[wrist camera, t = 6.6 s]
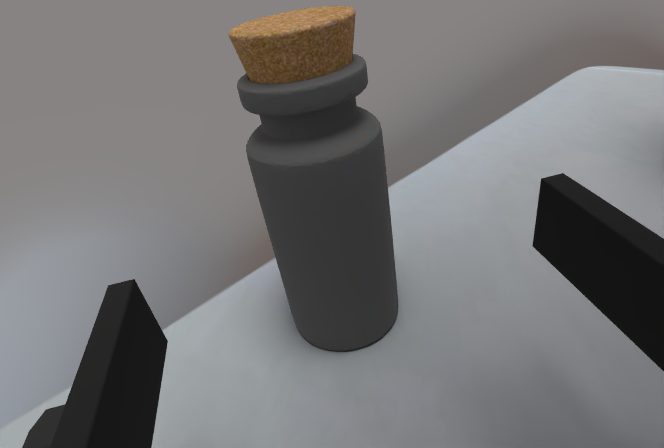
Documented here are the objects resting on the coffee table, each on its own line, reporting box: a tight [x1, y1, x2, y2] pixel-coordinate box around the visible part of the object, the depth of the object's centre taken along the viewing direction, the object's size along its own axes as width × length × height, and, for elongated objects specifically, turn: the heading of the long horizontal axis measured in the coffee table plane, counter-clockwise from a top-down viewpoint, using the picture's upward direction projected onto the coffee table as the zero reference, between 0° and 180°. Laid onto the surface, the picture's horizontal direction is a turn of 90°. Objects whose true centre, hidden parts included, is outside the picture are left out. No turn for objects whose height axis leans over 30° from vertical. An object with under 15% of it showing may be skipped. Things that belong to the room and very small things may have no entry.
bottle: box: [229, 6, 398, 351], centre depth 20 cm, size 6×6×15 cm
